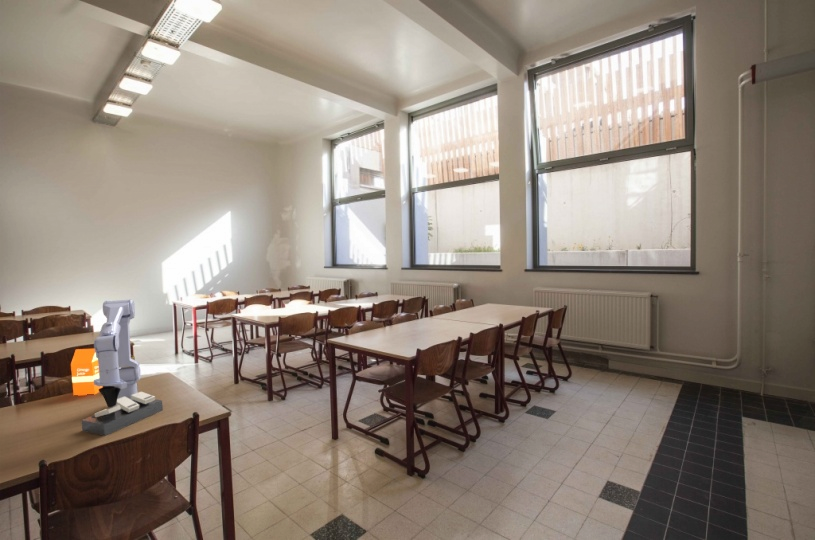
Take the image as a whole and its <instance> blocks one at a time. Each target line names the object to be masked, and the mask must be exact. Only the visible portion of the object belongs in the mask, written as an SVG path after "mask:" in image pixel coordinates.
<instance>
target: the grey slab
mask: <svg viewBox="0 0 815 540" xmlns="http://www.w3.org/2000/svg"><path fill="white" fill-rule="evenodd" d="M132 401H134V402H136V403H137V404H139V409H136V410H134V411H131V412H129V413H128V412H126V411H125V410H123V409H119V410H117V411H114V412H112V413H109V414H106V415H102V416H99V417H95V414H94V415H91V416H88V417H86V418H83V419H81V422H80V423H81V429H82V430H81V431H82V432H86V433H91V434H94V435H95V434H96V435H101V436H104V437H105V436H108V435H110V434H112V433H114V432H117V431H119V430H121V429H123V428H125V427H128V426H130V425H132V424H134V423H137V422H139V421H141V420H143V419H146V418H148V417H150V416H153V415H155V414H157V413H159V412H161V411H163V410H164V409H163V400H162V399H156V398H155V400H154V401H152V402H149V403H147V404H144V403H141V402H138V401H135V400H132Z"/></svg>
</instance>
